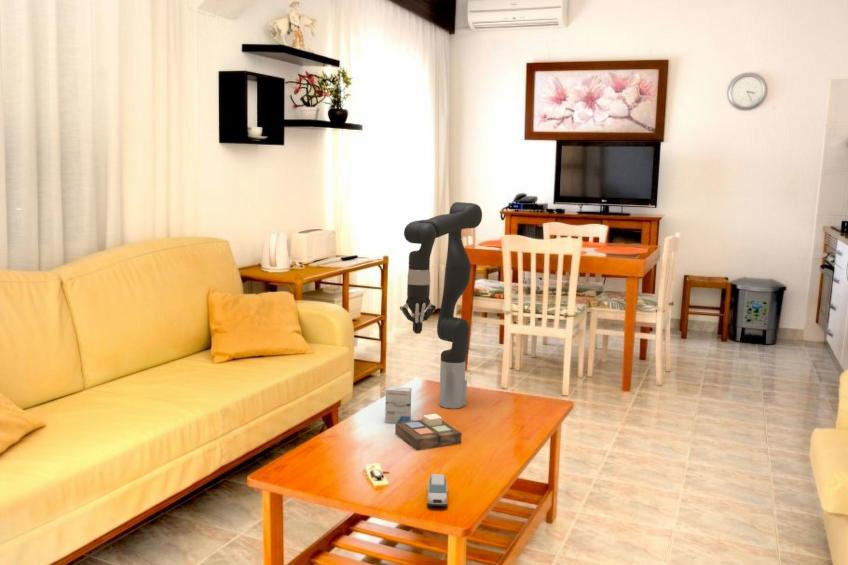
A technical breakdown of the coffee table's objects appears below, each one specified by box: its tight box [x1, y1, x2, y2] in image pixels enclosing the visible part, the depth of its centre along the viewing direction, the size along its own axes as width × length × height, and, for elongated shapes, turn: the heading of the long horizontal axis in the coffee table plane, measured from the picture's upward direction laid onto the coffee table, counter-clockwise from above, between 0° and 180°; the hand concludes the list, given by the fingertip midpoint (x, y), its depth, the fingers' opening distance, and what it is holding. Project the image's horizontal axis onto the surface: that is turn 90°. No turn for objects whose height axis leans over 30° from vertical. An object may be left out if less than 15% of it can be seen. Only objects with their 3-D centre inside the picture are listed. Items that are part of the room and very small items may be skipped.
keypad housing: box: [394, 419, 463, 451], centre depth 246 cm, size 16×16×4 cm
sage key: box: [432, 425, 451, 434], centre depth 244 cm, size 5×5×2 cm
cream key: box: [422, 413, 443, 427], centre depth 249 cm, size 5×5×2 cm
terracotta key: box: [414, 428, 433, 436], centre depth 241 cm, size 5×5×2 cm
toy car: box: [426, 473, 449, 508], centre depth 201 cm, size 6×13×5 cm, turn 179°
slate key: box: [406, 422, 424, 430], centre depth 247 cm, size 5×5×2 cm
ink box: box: [384, 386, 412, 424], centre depth 261 cm, size 8×5×12 cm, turn 84°
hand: (417, 333), depth 254 cm, fingers closed
